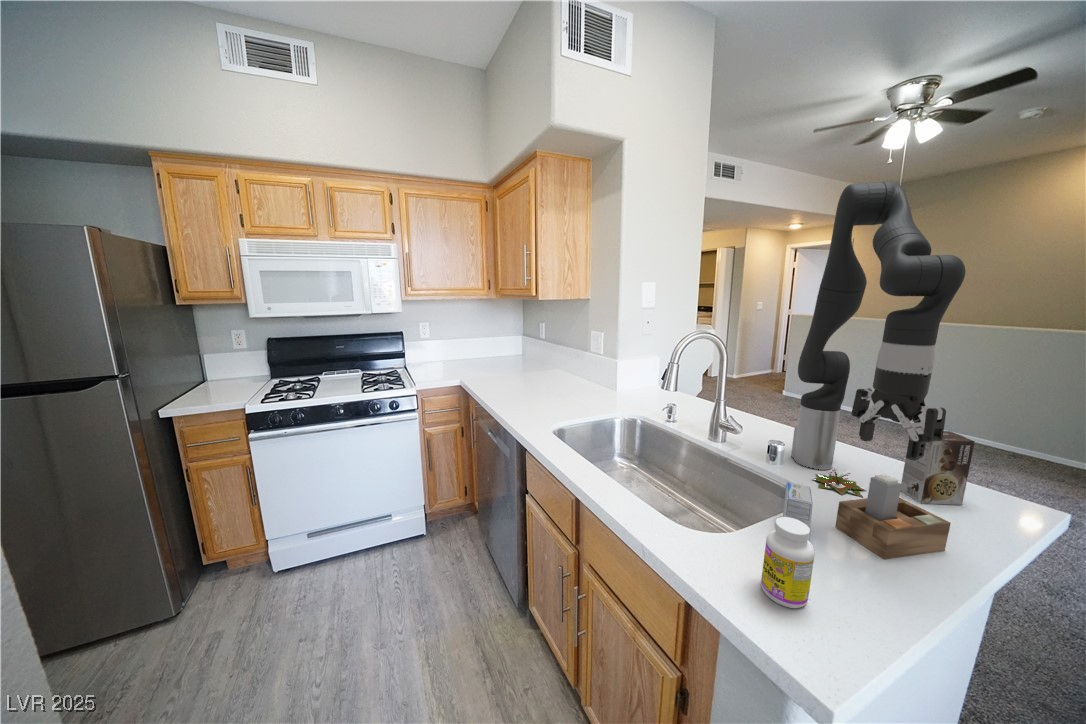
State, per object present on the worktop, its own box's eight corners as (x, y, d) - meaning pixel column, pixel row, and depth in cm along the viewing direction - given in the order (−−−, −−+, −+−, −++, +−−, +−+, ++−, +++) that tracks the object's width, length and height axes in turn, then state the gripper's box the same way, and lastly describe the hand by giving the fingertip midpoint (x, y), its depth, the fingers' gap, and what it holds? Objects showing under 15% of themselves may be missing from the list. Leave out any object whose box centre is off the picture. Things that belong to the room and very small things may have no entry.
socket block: (835, 526, 80) (839, 500, 79) (890, 520, 82) (894, 493, 81) (884, 559, 70) (889, 529, 69) (944, 550, 73) (951, 521, 71)
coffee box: (937, 491, 94) (950, 430, 91) (963, 505, 88) (977, 440, 85) (898, 489, 95) (909, 429, 92) (920, 504, 88) (933, 439, 85)
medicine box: (808, 543, 75) (813, 503, 74) (782, 535, 78) (786, 497, 76) (806, 522, 82) (811, 486, 80) (782, 516, 84) (786, 480, 83)
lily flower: (807, 472, 105) (809, 456, 105) (862, 482, 99) (865, 466, 98) (811, 491, 95) (813, 474, 95) (872, 504, 89) (875, 487, 88)
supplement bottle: (752, 580, 66) (759, 513, 63) (787, 577, 66) (796, 511, 64) (778, 612, 59) (788, 539, 57) (818, 609, 60) (828, 536, 57)
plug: (863, 522, 77) (871, 474, 75) (876, 520, 77) (884, 473, 75) (879, 532, 74) (888, 482, 72) (893, 530, 74) (902, 481, 72)
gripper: (849, 360, 75) (837, 436, 79) (931, 377, 62) (913, 468, 65) (880, 359, 76) (867, 434, 80) (968, 375, 63) (948, 464, 66)
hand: (888, 449), depth 72 cm, fingers open, 8 cm apart
